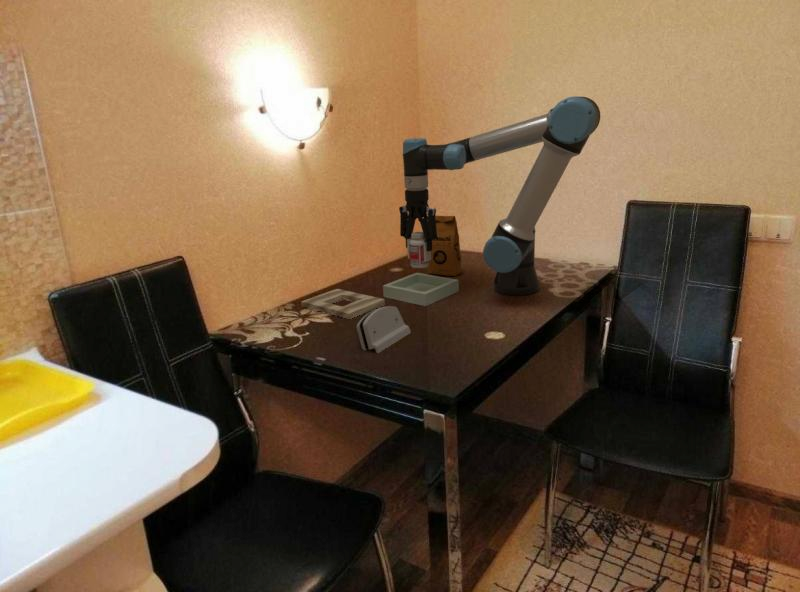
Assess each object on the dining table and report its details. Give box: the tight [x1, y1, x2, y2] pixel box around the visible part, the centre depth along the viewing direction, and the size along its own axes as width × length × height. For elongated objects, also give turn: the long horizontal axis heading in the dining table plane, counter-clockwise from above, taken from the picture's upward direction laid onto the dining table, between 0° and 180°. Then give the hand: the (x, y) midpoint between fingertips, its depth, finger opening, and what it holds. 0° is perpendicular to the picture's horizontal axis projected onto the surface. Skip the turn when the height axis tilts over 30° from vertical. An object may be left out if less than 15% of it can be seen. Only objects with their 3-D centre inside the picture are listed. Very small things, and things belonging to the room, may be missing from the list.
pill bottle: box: [409, 231, 429, 269], centre depth 194 cm, size 6×6×11 cm
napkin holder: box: [356, 305, 411, 354], centre depth 160 cm, size 17×5×10 cm, turn 147°
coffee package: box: [427, 215, 462, 277], centre depth 217 cm, size 10×12×22 cm
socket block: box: [301, 288, 386, 320], centre depth 190 cm, size 22×16×2 cm
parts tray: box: [382, 272, 460, 307], centre depth 198 cm, size 18×18×4 cm
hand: (419, 259), depth 195 cm, fingers closed on pill bottle, 6 cm apart
